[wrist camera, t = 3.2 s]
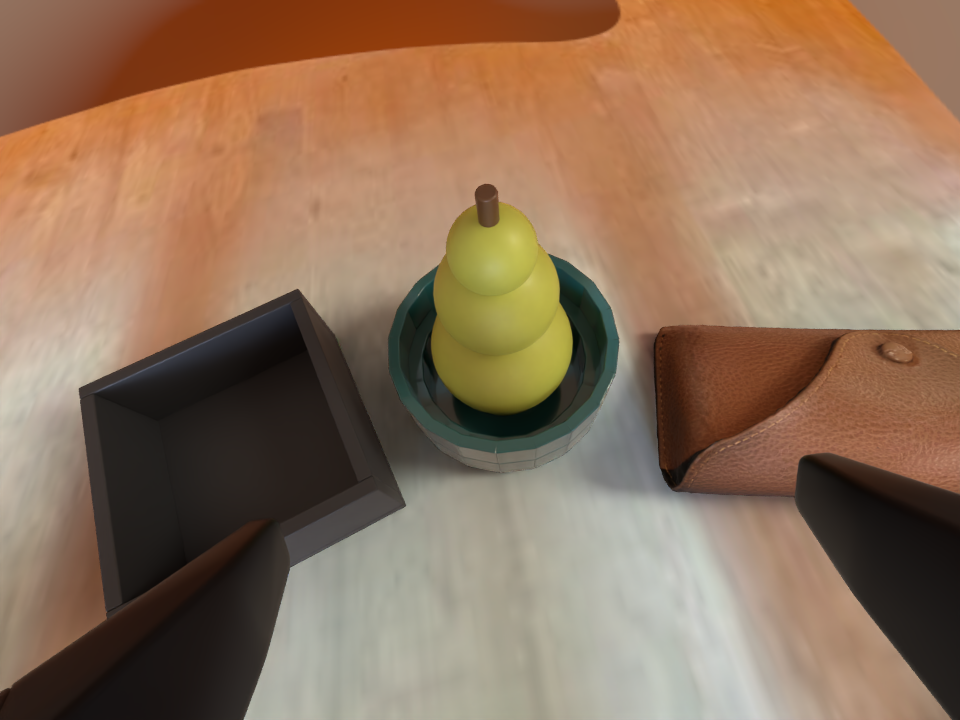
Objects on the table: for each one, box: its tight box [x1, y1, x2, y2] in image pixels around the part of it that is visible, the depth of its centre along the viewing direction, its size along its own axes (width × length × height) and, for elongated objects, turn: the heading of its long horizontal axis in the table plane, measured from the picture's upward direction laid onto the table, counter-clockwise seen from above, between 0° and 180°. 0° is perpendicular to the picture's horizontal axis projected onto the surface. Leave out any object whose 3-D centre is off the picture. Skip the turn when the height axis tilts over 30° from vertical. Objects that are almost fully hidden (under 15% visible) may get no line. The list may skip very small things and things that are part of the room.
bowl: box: [388, 253, 619, 473], centre depth 22 cm, size 10×10×4 cm
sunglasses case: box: [654, 325, 960, 497], centre depth 20 cm, size 18×7×7 cm, turn 88°
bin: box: [79, 289, 406, 619], centre depth 21 cm, size 10×10×5 cm
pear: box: [431, 184, 573, 416], centre depth 18 cm, size 6×6×12 cm
